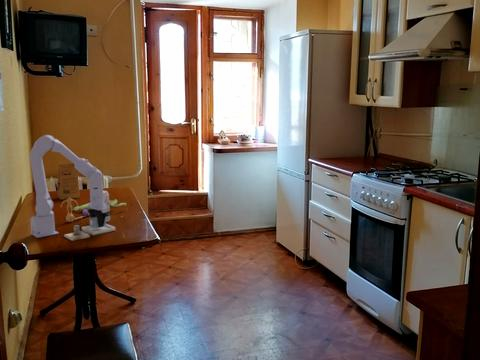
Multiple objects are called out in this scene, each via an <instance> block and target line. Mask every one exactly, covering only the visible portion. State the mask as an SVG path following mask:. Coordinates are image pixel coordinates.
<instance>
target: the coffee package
mask: <svg viewBox="0 0 480 360" xmlns="http://www.w3.org/2000/svg"><path fill="white" fill-rule="evenodd" d="M57 171H58V173H57V185H56V186H57V187H56V189H57V190H56V191H57V196H58V199H59V200H63V201H64V200H67V199H68V198H69V197H70V198H71V199H73V200H75V199H77V198H80V185H79V174H78V172H79V171H78V170H77V169H76V168H75V166H74V163H73V162H68V163H67V162H66V163H65V162H64V163H63V162H58V169H57Z"/></svg>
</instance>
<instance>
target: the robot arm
mask: <svg viewBox="0 0 480 360" xmlns="http://www.w3.org/2000/svg"><path fill="white" fill-rule="evenodd" d="M50 150H51V152H55V153H60V154H61V155H63V157H65V159H68V160H69V161H70V163H74V166H75V168H76V169H77V172H79V173H80V174H82V175H83V176H84V177H85V178H88V182H89V200H90V202H88V203H89V204H88V203H87V204H88V208H89V210H87V211H88V213H89V214H90V215H89V218H92V217H97V221H98V226H99V227H103V226H104V222H105V218H106V215H107V214H108V211H107V208H105V206H106V205H105V204H104V201H103V190H104V186H103V172H102V171H101V170H100V169H98V168H97V167H96V166H94V165H92V164H91V163H90V162H89V159H87V158H86V159H85V158H84V157H81V158H80V157H78V156H77V155H76V154H75V153H74V152H73V151H72V150H70V149H69V148H68V147H67V146H66V145H65V144H63V142H61V141H60V140H59V139H57V138H55V137H54V136H53V135H50V134H44V135H42V136H40V137H39V138H38V139H37V140H36V141H34V144H33V147H32V148H31V151H30V153H29V160H30V167H31V172H32V179H33V184H34V189H35V190H34V191H35V194H36V196H35V202H36V203H35V206H34V210H35V213H36V214H35V215H34V216H31V217H30V222H29V223H30V235H31V236H33V237H35V238H37V239H38V238H43V237H48V236H53V235H58V234H59V232H58V231H57V230H56V227H55V226H56V225H55V224H56V223H55V213H54V211H53V208H54V204H55V203H54V201H53V200H52V198H51V196H50V193H49V189H48V183H47V179H46V173H45V167H44V162H43V161H44V160H43V157H44V155H46V154H47V152H49V151H50Z"/></svg>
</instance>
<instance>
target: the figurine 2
mask: <svg viewBox="0 0 480 360" xmlns="http://www.w3.org/2000/svg"><path fill="white" fill-rule="evenodd" d="M89 203H90V202H88V203H85V204H81V205H80V206H79V205H78V206H79V207H78V206H75V207H72V211H74V212H75V211H78V210H82V215H83V216H90V214H89V213H88V211H87V210H89V209H90V208H88V204H89ZM109 206H111V207H112V208H113V207H121V206H127V203H126V202H121V203H119V204H118V200H117V199H116V198H115V199H113V200H109Z"/></svg>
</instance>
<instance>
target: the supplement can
mask: <svg viewBox="0 0 480 360" xmlns="http://www.w3.org/2000/svg"><path fill="white" fill-rule="evenodd" d="M103 201H104V204H105V205H106V206H105V208H107V211H108V214H107V215H106V218H105V220H106V223H109V222H110V221H111V211H110V209H111V208H110V206H111V205H110V204H109V201H110V194H109V192H108V191H107V190H104V189H103Z"/></svg>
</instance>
